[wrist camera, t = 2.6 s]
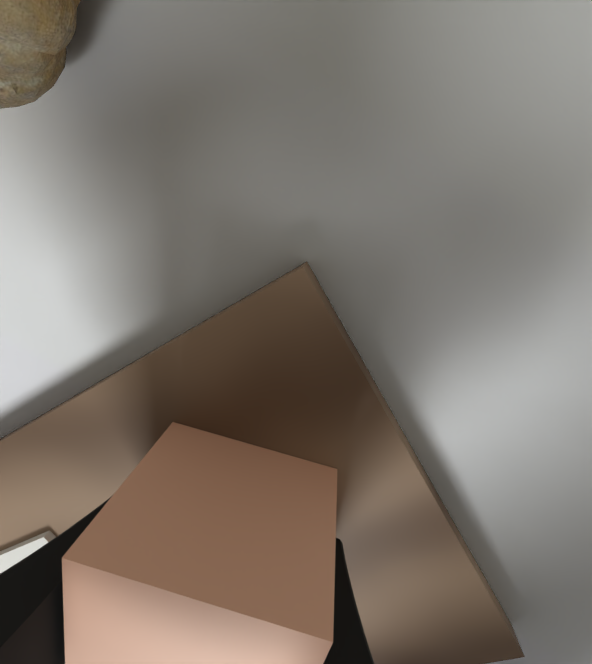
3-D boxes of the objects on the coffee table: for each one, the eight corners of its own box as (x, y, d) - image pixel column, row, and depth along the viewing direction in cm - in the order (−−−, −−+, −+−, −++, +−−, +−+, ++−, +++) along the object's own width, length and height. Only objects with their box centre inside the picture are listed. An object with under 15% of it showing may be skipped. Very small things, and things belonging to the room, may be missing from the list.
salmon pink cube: (297, 580, 12) (273, 770, 8) (159, 538, 13) (66, 701, 8) (337, 469, 10) (333, 642, 6) (172, 421, 11) (61, 558, 6)
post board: (511, 625, 13) (591, 821, 9) (89, 706, 20) (19, 840, 15) (306, 262, 9) (277, 300, 5) (-125, 510, 16) (-290, 616, 12)
